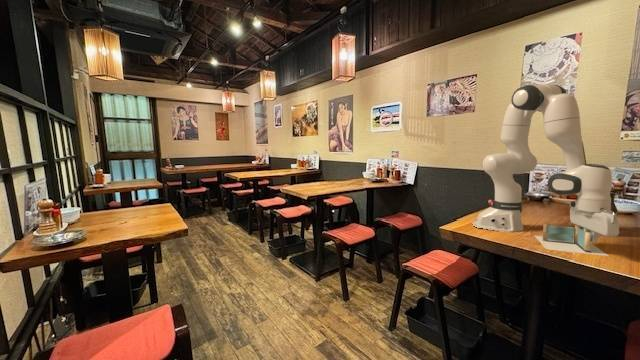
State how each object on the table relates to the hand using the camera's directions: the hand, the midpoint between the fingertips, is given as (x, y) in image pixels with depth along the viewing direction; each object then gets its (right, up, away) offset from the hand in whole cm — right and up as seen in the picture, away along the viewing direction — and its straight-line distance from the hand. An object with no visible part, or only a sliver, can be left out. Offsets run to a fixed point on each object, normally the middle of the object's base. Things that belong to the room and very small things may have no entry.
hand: (591, 240), depth 101 cm
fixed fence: (-3, -3, +10) cm, 10 cm away
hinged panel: (-1, -3, +2) cm, 4 cm away
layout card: (-3, -4, +7) cm, 8 cm away
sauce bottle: (+26, -2, +18) cm, 32 cm away
